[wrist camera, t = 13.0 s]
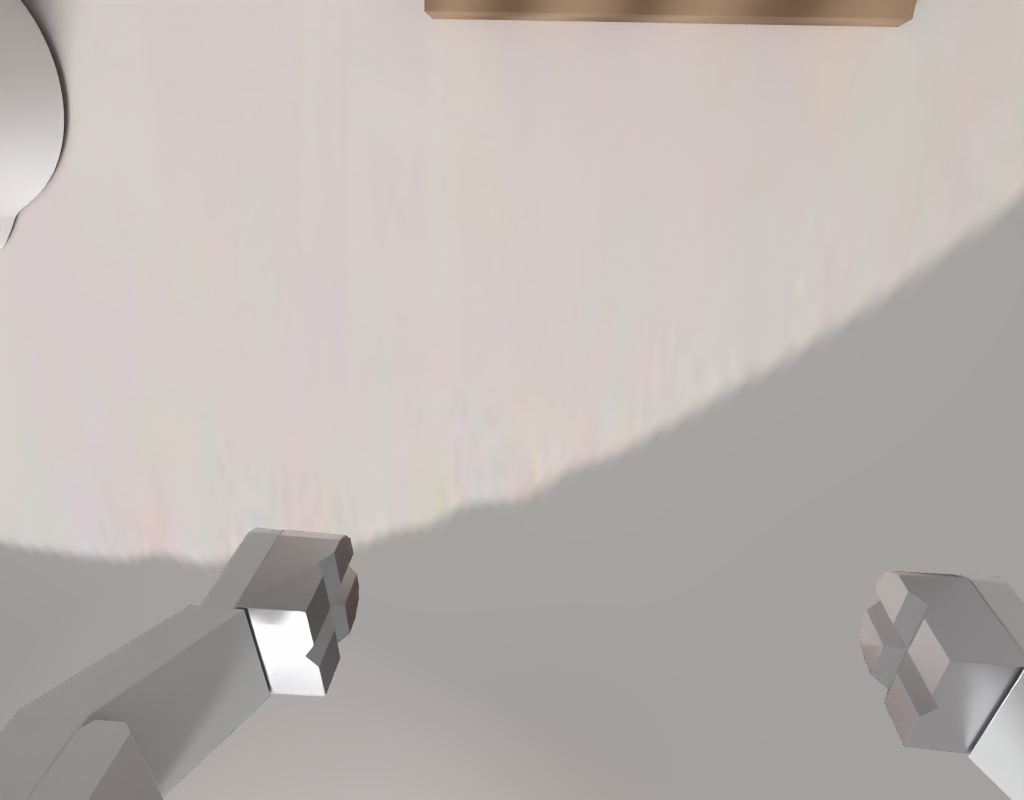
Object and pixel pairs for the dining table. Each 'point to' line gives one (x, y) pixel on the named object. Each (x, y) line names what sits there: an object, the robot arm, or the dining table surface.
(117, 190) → the dining table surface
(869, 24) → the cruet board
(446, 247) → the dining table surface
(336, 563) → the robot arm
